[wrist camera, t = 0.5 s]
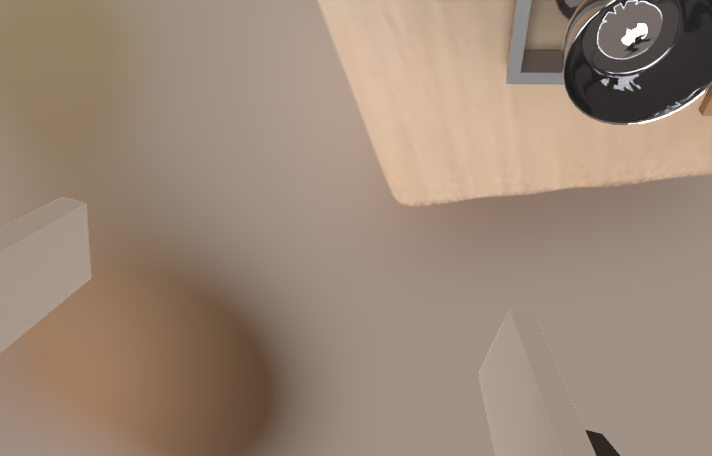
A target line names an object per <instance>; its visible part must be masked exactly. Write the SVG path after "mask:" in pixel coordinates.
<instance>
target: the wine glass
mask: <svg viewBox="0 0 712 456" xmlns="http://www.w3.org/2000/svg"><path fill="white" fill-rule="evenodd" d="M556 3H557V5H558V8H559V10H560V11H561V13H562V14H563V15H564V16H565V17H566V18H567V19H568V20H570V21H569V24H568V26H567V28H566V32H565V36H564V40H563V45H562V56H561V62H562V73H563V79H564V84H565V88H566V91H567V93H568V96H569V98H570V99H571V101H572V102H573V104H574V105H575V106H576V107H577V108H578V109H579V110H580V111H581V112H582V113H584V114H585V115H587V116H589V117H590V118H592V119H595V120H597V121H600V122H603V123H609V124H614V125H632V124H641V123H645V122H650V121H654V120H657V119H660V118H663V117H666V116H668V115H670V114H672V113H674V112H676V111H678V110H680V109H682V108H683V107H685V106H687V105H688V104H690V103H691V102H693V101H694V100H695V99H697V98H698V97H699V96H700V95H702V94H703V93H704V92H705V91H706V90H707V89H708V88H709V87H710V86H711V85H712V0H556Z"/></svg>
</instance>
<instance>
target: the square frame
mask: <svg viewBox="0 0 712 456" xmlns="http://www.w3.org/2000/svg"><path fill="white" fill-rule="evenodd" d="M531 3H532V0H515V5H514V13H513V20H512V28H511V35H510V43H509V50H508V58H507V81H506V84H564V79H563V73H562V62H561V56H562V50H524V47H525V41H526V35H527V28H528V22H529V16H530V9H531Z"/></svg>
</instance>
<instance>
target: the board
mask: <svg viewBox="0 0 712 456" xmlns="http://www.w3.org/2000/svg"><path fill="white" fill-rule="evenodd" d="M699 111H700V112H701V114H702V116H712V85H711V86H710V88H709V90H708V92H707V94H706V96H705V99H704V101H703V103H702V105H701V107H700V109H699Z"/></svg>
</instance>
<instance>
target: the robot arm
mask: <svg viewBox="0 0 712 456" xmlns="http://www.w3.org/2000/svg"><path fill="white" fill-rule="evenodd" d="M89 279H91V266H90V251H89V235H88V221H87V206H86V203H85V202H81V201H77V200H72V199H68V198H64V197H60V198H58V199H56V200H54V201H52V202H50V203H48V204H46V205H45V206H43V207H41V208H39V209H37V210H35V211H33V212H31V213H29V214H27V215H25V216H23V217H21V218H19V219H17V220H16V221H13V222H12V223H9V224H8V225H6V226H4V227H2V228H0V353H1V352H2V351H3V350H4V349H6V348H7V347H8V346H9V345H10V344H12V343H13V342H14V341H15V340H17V339H18V338H19V337H20V336H21V335H22V334H24V333H25V332H26V331H27V330H29V329H30V328H31V327H32V326H34V325H35V324H36V323H37V322H38V321H40V320H41V319H42V318H43V317H44V316H46V315H47V314H48V313H49V312H50V311H52V310H53V309H54V308H55V307H56V306H58V305H59V304H60V303H61V302H63V301H64V300H65V299H66V298H67V297H69V296H70V295H71V294H72V293H73V292H75V291H76V290H77V289H78V288H80V287H81V286H82V285H83V284H85V283H86V282H87V281H88V280H89ZM478 376H479V380H480V385H481V390H482V395H483V399H484V405H485V409H486V414H487V419H488V423H489V429H490V433H491V438H492V443H493V448H494V453H495V456H620V455H619V454H618V453H617V452H616V450H615V449H614V448H613V447H612V445H611V444H610V443H609V442H608V441H607V439H606V438H605V437H604V436H603V435H602V434H600V433H595V432H592V431H588V430H585V429H584V426H583V424H582V422H581V420H580V418H579V415H578V413H577V411H576V408H575V406H574V404H573V401H572V399H571V397H570V395H569V392H568V390H567V388H566V386H565V383H564V381H563V379H562V377H561V374H560V372H559V370H558V368H557V365H556V363H555V361H554V358H553V356H552V354H551V352H550V349H549V347H548V345H547V343H546V340H545V338H544V336H543V334H542V331H541V329H540V327H539V324H538V322H537V320H536V317H535V315H534V314H531V313H527V312H523V311H519V310H515V309H511V308H510V309H509V310H508V313H507V315H506V317H505V319H504V321H503V323H502V325H501V327H500V329H499V331H498V333H497V335H496V338H495V340H494V342H493V344H492V346H491V348H490V350H489V352H488V354H487V356H486V358H485V360H484V362H483V364H482V366H481V369H480V371H479V373H478Z"/></svg>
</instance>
